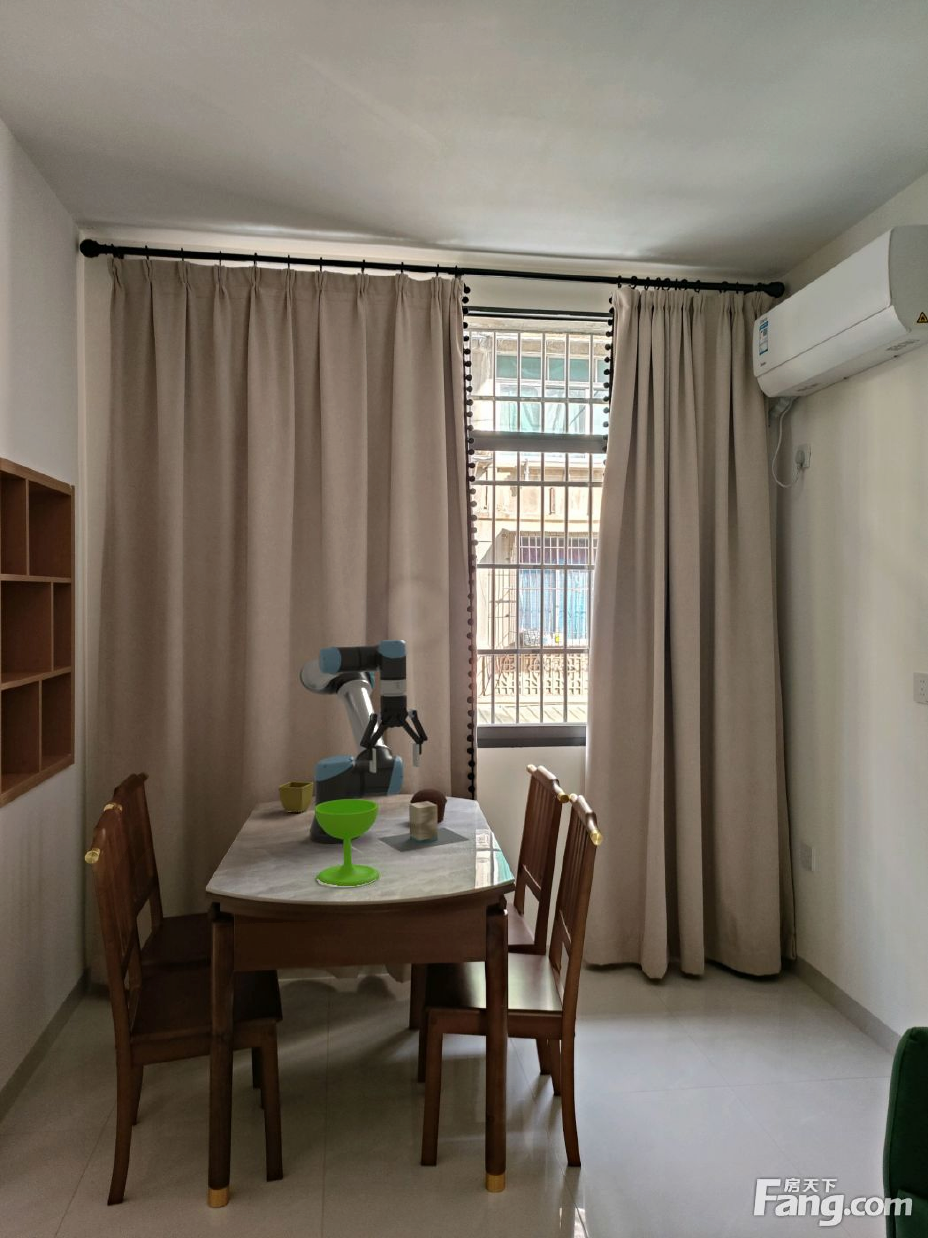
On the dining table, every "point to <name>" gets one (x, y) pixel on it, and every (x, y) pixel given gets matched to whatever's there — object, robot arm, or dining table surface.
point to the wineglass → (347, 838)
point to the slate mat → (407, 844)
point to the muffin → (432, 800)
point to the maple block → (423, 822)
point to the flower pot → (296, 796)
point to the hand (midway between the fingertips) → (394, 769)
